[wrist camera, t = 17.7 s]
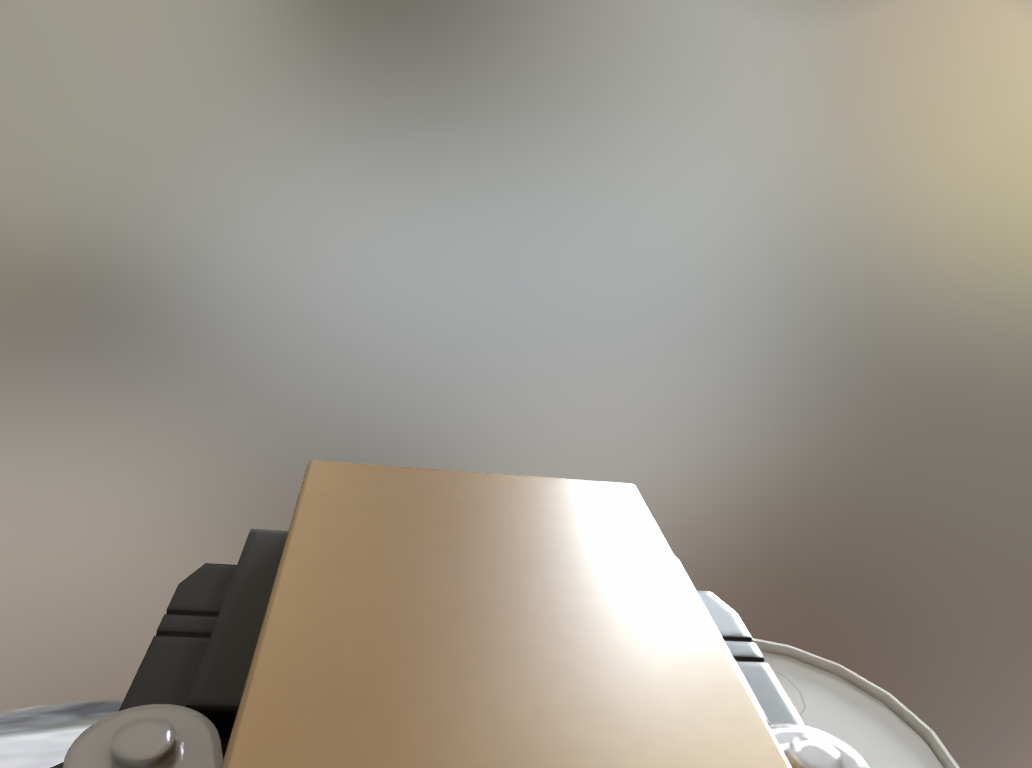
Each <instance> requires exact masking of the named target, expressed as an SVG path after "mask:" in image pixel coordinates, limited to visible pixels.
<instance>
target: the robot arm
mask: <svg viewBox="0 0 1032 768" xmlns="http://www.w3.org/2000/svg"><path fill="white" fill-rule="evenodd" d="M287 535H288V531H279V530H278V531H277V530H260V529H251V530H250V532H249V535H248V538H247V540H246V543H245V546H244V548H243V551H242V554H241V557H240V559H239V562H238V564H237V565H228V564H208V563H205V564H204V565H203V566H202V567H200V568H199V569H198V570H196V571H195V572H194V573H193V574H191V575H190V576H189V577H187V578H186V579H185V580H183V581H182V582H181V583H180V584H179V585H178V587H177V589H176V591H175V593H174V596H173V598H172V600H171V602H170V604H169V606H168V608H167V613H166V614H165V615H164V617H163V619H162V621H161V623H160V625H159V627H158V629H157V634H156V636H154V638H153V640H152V642H151V644H150V646H149V648H148V650H147V653H146V655H145V657H144V659H143V661H142V663H141V665H140V667H139V669H138V672H137V674H136V676H135V678H134V680H133V682H132V684H131V686H130V688H129V690H128V693H127V695H126V697H125V699H124V701H123V703H122V705H121V707H120V709H119V711H118V712H116V713H114V714H112V715H109V716H107V717H105V718H103V719H101V720H100V721H98V722H96V723H94V724H93V725H92V726H90V727H89V728H88V729H86V730H85V731H84V732H83V733H82V734H81V735H80V736H79V737H78V738H77V739H76V740H75V741H74V742H73V744H72V745H71V747H70V748H69V750H68V752H67V754H66V756H65V759H64V762H63V763H60V764H58V765H56V766H54V767H51V768H221V767H222V764H223V760H224V757H225V753H226V750H227V746H228V743H229V739H230V736H231V732H232V729H233V725H234V722H235V718H236V715H237V711H238V708H239V704H240V700H241V697H242V693H243V690H244V686H245V683H246V679H247V676H248V672H249V669H250V665H251V662H252V658H253V655H254V651H255V648H256V644H257V641H258V637H259V634H260V630H261V626H262V623H263V619H264V616H265V612H266V609H267V605H268V602H269V598H270V595H271V591H272V588H273V584H274V581H275V577H276V574H277V570H278V567H279V563H280V560H281V556H282V553H283V549H284V545H285V542H286V538H287ZM674 556H675V555H674ZM675 558H676V560H677V562H678V563H679V565H680V567H681V569H682V571H683V572H684V574H685V576H686V578H687V580H688V581H689V583H690V585H691V587H692V588H693V590H694V592H695V594H696V596H697V597H698V599H699V601H700V603H701V605H702V606H703V608H704V610H705V612H706V614H707V615H708V617H709V619H710V621H711V623H712V624H713V626H714V628H715V630H716V632H717V633H718V635H719V637H720V639H721V641H722V642H723V644H724V646H725V648H726V650H727V651H728V653H729V655H730V657H731V659H732V660H733V662H734V664H735V666H736V668H737V669H738V671H739V673H740V675H741V677H742V678H743V680H744V682H745V684H746V686H747V687H748V689H749V691H750V693H751V695H752V696H753V698H754V700H755V702H756V704H757V705H758V707H759V709H760V711H761V713H762V714H763V716H764V718H765V720H766V722H767V723H768V725H769V727H770V729H771V731H772V732H773V734H774V736H775V738H776V740H777V741H778V743H779V745H780V747H781V749H782V750H783V752H784V754H785V756H786V758H787V759H788V761H789V763H790V765H791V767H792V768H870V767H869V765H868V764H867V763H866V762H865V761H864V759H863V758H862V757H861V756H859V755H858V754H857V753H856V752H855V751H854V750H853V749H851V748H850V747H849V746H847V745H846V744H844V743H843V742H841V741H840V740H838V739H836V738H835V737H833V736H831V735H829V734H827V733H824V732H822V731H819V730H817V729H814V728H810V727H807V726H806V725H805V723H804V722H803V720H802V718H801V717H800V715H799V713H798V712H797V710H796V708H795V707H794V705H793V704H792V702H791V700H790V699H789V697H788V695H787V694H786V692H785V690H784V689H783V687H782V686H781V684H780V682H779V681H778V679H777V677H776V676H775V674H774V672H773V671H772V669H771V668H770V666H769V664H768V663H765V662H764V656H763V654H762V653H761V651H760V650H759V648H758V646H757V645H756V643H755V642H752V637H751V635H750V633H749V632H748V630H747V628H746V627H745V625H744V623H743V622H742V620H741V619H740V617H739V615H738V614H737V613H736V612H735V611H734V610H732V609H731V608H730V607H729V606H728V605H726V604H725V603H724V602H723V601H722V600H720V599H719V598H718V597H717V596H716V595H714V594H713V593H712V592H709V591H696V589H695V587H694V586H693V584H692V582H691V580H690V578H689V577H688V575H687V573H686V571H685V570H684V568H683V566H682V564H681V562H680V561H679V559H678V558H677V557H676V556H675Z"/></svg>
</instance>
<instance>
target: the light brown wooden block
mask: <svg viewBox="0 0 1032 768" xmlns="http://www.w3.org/2000/svg"><path fill="white" fill-rule="evenodd" d="M221 768H792V767H791V765H790V763H789V761H788V759H787V758H786V756H785V754H784V752H783V750H782V749H781V747H780V745H779V743H778V741H777V740H776V738H775V736H774V734H773V732H772V731H771V729H770V727H769V725H768V723H767V722H766V720H765V718H764V716H763V714H762V713H761V711H760V709H759V707H758V705H757V704H756V702H755V700H754V698H753V696H752V695H751V693H750V691H749V689H748V687H747V686H746V684H745V682H744V680H743V678H742V677H741V675H740V673H739V671H738V669H737V668H736V666H735V664H734V662H733V660H732V659H731V657H730V655H729V653H728V651H727V650H726V648H725V646H724V644H723V642H722V641H721V639H720V637H719V635H718V633H717V632H716V630H715V628H714V626H713V624H712V623H711V621H710V619H709V617H708V615H707V614H706V612H705V610H704V608H703V606H702V605H701V603H700V601H699V599H698V597H697V596H696V594H695V592H694V590H693V588H692V587H691V585H690V583H689V581H688V580H687V578H686V576H685V574H684V572H683V571H682V569H681V567H680V565H679V563H678V562H677V560H676V558H675V556H674V554H673V553H672V551H671V549H670V547H669V545H668V544H667V542H666V540H665V538H664V536H663V535H662V533H661V531H660V529H659V528H658V526H657V524H656V522H655V520H654V518H653V517H652V515H651V513H650V511H649V509H648V508H647V506H646V504H645V502H644V500H643V499H642V497H641V495H640V493H639V491H638V490H637V488H636V486H635V485H634V484H631V483H618V482H604V481H590V480H576V479H562V478H549V477H548V478H547V477H535V476H521V475H508V474H494V473H480V472H466V471H452V470H438V469H423V468H411V467H397V466H383V465H370V464H355V463H342V462H329V461H314V460H313V461H310V462H309V463H308V465H307V468H306V471H305V475H304V479H303V482H302V486H301V489H300V493H299V496H298V500H297V503H296V507H295V510H294V514H293V517H292V521H291V525H290V528H289V531H288V535H287V538H286V542H285V545H284V549H283V553H282V556H281V560H280V563H279V567H278V570H277V574H276V577H275V581H274V584H273V588H272V591H271V595H270V598H269V602H268V605H267V609H266V612H265V616H264V619H263V623H262V626H261V630H260V634H259V637H258V641H257V644H256V648H255V651H254V655H253V658H252V662H251V665H250V669H249V672H248V676H247V679H246V683H245V686H244V690H243V693H242V697H241V700H240V704H239V708H238V711H237V715H236V718H235V722H234V725H233V729H232V732H231V736H230V739H229V743H228V746H227V750H226V753H225V757H224V760H223V764H222V767H221Z"/></svg>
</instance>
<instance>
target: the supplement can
mask: <svg viewBox="0 0 1032 768" xmlns="http://www.w3.org/2000/svg"><path fill="white" fill-rule="evenodd" d="M752 642H755V643H756V645H757V646H758V648H759V650H760V651H761V653H762V654H763V656H764V662H765V663H768V664H769V666H770V668H771V669H772V671H773V672H774V674H775V676H776V677H777V679H778V681H779V682H780V684H781V686H782V687H783V689H784V690H785V692H786V694H787V695H788V697H789V699H790V700H791V702H792V704H793V705H794V707H795V708H796V710H797V712H798V713H799V715H800V717H801V718H802V720H803V722H804V723H805V725H806V726H807V727H810V728H814V729H817V730H819V731H822V732H824V733H827V734H829V735H831V736H833V737H835V738H836V739H838V740H840V741H841V742H843V743H844V744H846V745H847V746H849V747H850V748H851V749H853V750H854V751H855V752H856V753H857V754H858V755H859V756H861V757H862V758H863V759H864V761H865V762H866V763H867V764H868V765H869V767H870V768H960V767H959V766H958V764H957V763H956V762H955V760H954V759H953V758H952V756H951V755H950V753H949V752H948V751H947V749H946V748H945V746H944V745H943V744H942V742H941V741H940V739H939V738H938V737H937V735H936V734H935V732H934V731H933V730H932V729H931V728H930V727H928V726H927V725H926V724H925V723H924V722H923V721H922V720H920V719H919V718H918V717H917V716H916V715H915V714H913V713H912V712H911V711H910V710H909V709H907V708H906V707H905V706H904V705H903V704H902V703H901V702H900V701H898V700H897V699H896V698H895V697H894V696H893V695H891V694H890V693H889V692H887V691H885V690H883V689H882V688H880V687H878V686H876V685H875V684H873V683H871V682H870V681H868V680H866V679H864V678H863V677H861V676H859V675H858V674H856V673H854V672H852V671H851V670H849V669H847V668H846V667H844V666H842V665H840V664H838V663H835V662H832V661H830V660H827V659H824V658H822V657H819V656H816V655H813V654H811V653H808V652H806V651H803V650H800V649H798V648H795V647H792V646H790V645H785V644H780V643H775V642H770V641H765V640H759V639H754V638H752Z"/></svg>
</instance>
